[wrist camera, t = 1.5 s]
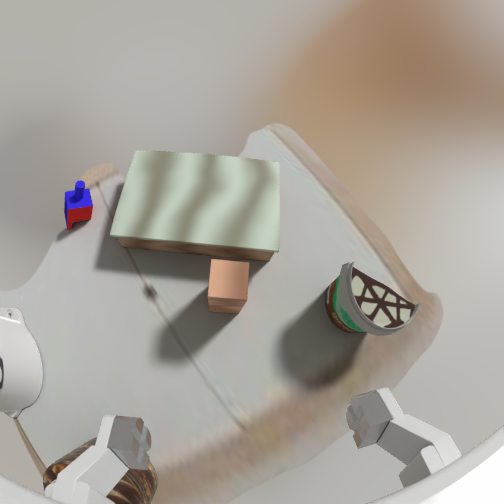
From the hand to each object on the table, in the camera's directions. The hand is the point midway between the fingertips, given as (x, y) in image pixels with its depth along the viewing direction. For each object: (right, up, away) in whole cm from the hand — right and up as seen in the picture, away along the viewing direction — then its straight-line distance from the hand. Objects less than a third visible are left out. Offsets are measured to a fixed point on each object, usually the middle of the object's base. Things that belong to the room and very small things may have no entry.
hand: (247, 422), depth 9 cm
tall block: (-4, 0, +29) cm, 29 cm away
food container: (+14, -4, +30) cm, 34 cm away
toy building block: (-28, +13, +30) cm, 43 cm away
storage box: (-8, +13, +33) cm, 36 cm away
